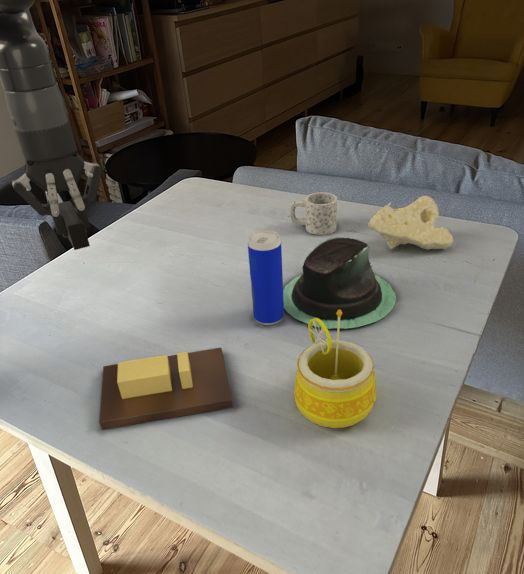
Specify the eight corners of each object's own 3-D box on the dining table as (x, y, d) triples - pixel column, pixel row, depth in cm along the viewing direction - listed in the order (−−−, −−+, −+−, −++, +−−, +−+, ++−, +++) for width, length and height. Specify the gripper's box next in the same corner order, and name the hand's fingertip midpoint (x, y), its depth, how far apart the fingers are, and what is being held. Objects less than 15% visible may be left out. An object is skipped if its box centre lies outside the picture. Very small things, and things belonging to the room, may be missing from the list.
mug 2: (374, 438, 68) (382, 366, 61) (289, 430, 70) (287, 359, 63) (375, 373, 78) (382, 304, 71) (301, 367, 80) (300, 300, 73)
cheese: (445, 241, 112) (395, 190, 111) (467, 227, 105) (414, 172, 104) (403, 289, 108) (351, 235, 107) (424, 277, 101) (368, 220, 100)
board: (101, 430, 72) (98, 422, 71) (105, 373, 81) (103, 366, 81) (233, 407, 74) (232, 399, 73) (222, 354, 83) (221, 347, 83)
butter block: (122, 399, 75) (117, 382, 73) (122, 379, 78) (117, 362, 76) (172, 390, 75) (168, 373, 73) (170, 371, 79) (167, 354, 77)
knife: (90, 246, 83) (83, 222, 81) (74, 250, 83) (67, 226, 80) (65, 205, 97) (59, 183, 94) (52, 208, 96) (45, 186, 94)
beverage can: (261, 306, 93) (256, 227, 84) (288, 312, 92) (286, 232, 82) (248, 322, 90) (241, 241, 81) (276, 329, 88) (272, 247, 79)
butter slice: (182, 389, 75) (178, 372, 73) (180, 369, 79) (176, 352, 77) (192, 387, 76) (189, 370, 74) (190, 368, 79) (187, 351, 77)
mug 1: (338, 221, 118) (339, 192, 114) (334, 235, 113) (335, 205, 109) (293, 219, 120) (292, 191, 116) (287, 233, 115) (286, 203, 111)
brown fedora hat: (307, 254, 105) (408, 274, 98) (274, 338, 99) (380, 364, 93) (293, 206, 92) (410, 224, 85) (255, 299, 86) (377, 327, 79)
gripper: (84, 106, 80) (110, 214, 91) (-14, 123, 76) (26, 235, 87) (96, 117, 75) (123, 231, 86) (-9, 136, 70) (33, 254, 81)
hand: (74, 232), depth 86 cm, fingers closed on knife, 2 cm apart
